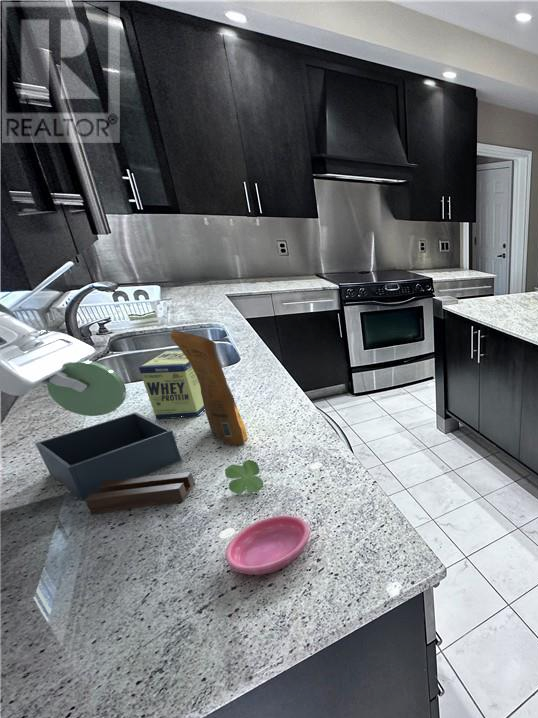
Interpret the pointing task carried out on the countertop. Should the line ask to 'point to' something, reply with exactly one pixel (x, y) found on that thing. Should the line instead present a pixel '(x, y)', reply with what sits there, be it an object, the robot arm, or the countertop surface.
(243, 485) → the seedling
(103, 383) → the plate
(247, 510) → the countertop surface
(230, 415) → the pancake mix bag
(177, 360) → the protein box
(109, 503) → the plate stand
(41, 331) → the robot arm
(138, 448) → the tub
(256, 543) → the saucer
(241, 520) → the countertop surface
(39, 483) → the countertop surface
